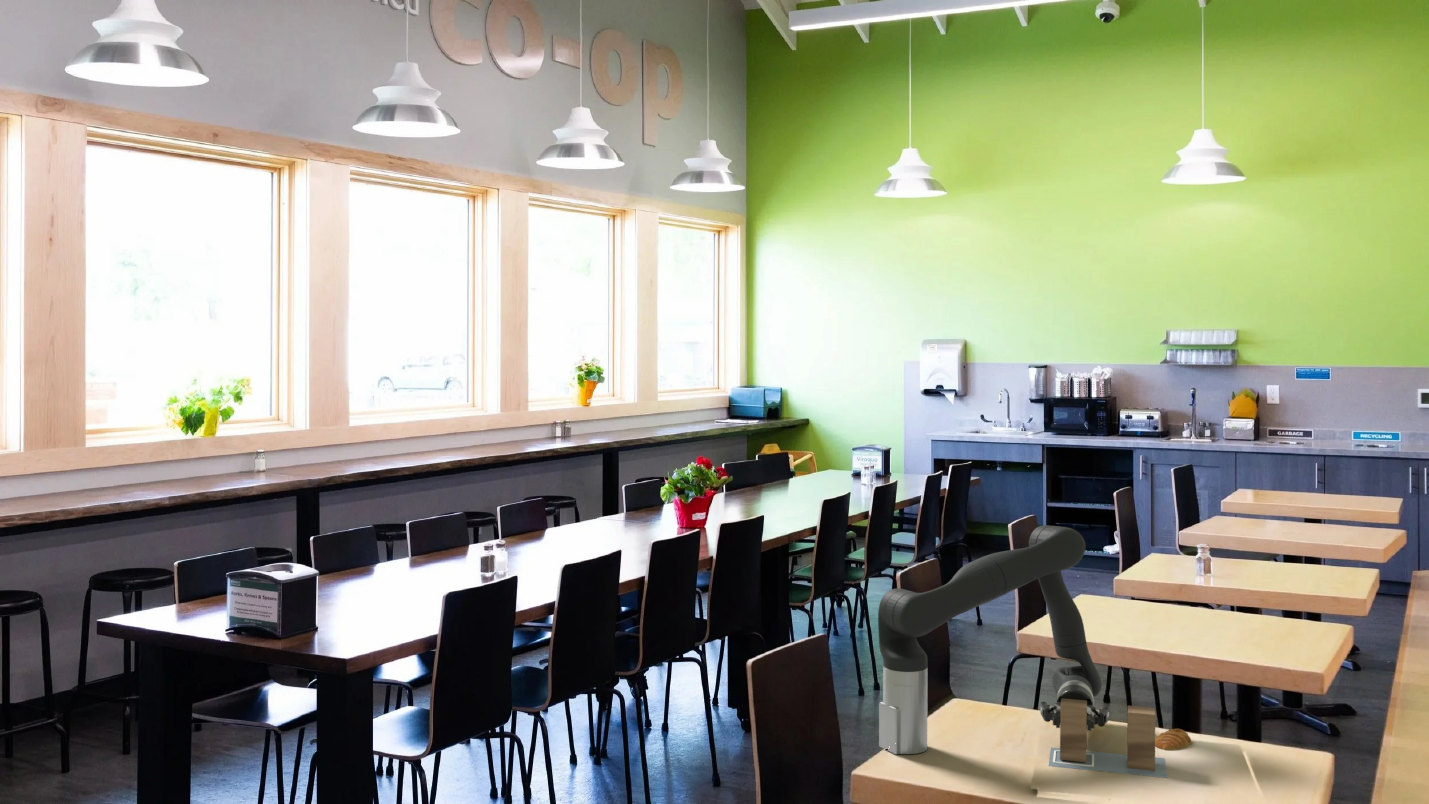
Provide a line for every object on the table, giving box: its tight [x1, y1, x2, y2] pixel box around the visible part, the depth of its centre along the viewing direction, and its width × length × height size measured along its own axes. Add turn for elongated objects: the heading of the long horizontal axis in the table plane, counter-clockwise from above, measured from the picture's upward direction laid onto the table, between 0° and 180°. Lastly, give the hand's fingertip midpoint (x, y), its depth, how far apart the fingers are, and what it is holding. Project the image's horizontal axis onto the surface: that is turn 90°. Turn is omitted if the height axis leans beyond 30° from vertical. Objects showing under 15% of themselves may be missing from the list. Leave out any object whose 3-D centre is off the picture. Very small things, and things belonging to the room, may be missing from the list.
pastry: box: [1155, 728, 1194, 751], centre depth 242 cm, size 9×7×4 cm
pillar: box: [1059, 698, 1088, 762], centre depth 232 cm, size 5×5×11 cm
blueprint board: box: [1048, 747, 1168, 779], centre depth 231 cm, size 12×22×1 cm, turn 72°
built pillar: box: [1126, 705, 1156, 771], centre depth 228 cm, size 5×5×11 cm
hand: (1073, 724), depth 230 cm, fingers open, 5 cm apart
